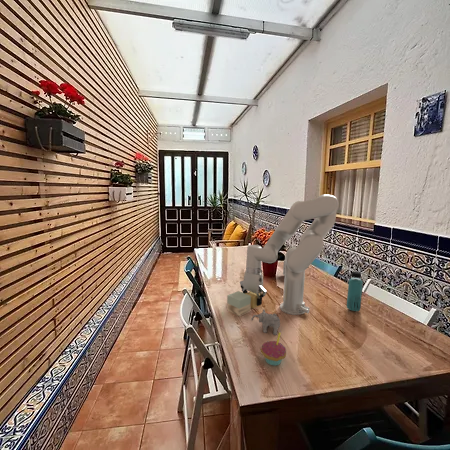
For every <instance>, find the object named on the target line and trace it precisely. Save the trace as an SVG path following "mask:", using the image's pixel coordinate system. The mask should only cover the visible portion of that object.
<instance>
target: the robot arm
mask: <svg viewBox="0 0 450 450" xmlns="http://www.w3.org/2000/svg"><path fill="white" fill-rule="evenodd" d="M339 206H340V203H339V200H338V199H337V197H336V196H334V195H332V194H326V193H325V194H320V195H319V196H318V197H316V198H312V199H308V200H298V201H295V202H293V204H292V205H291V206H290V208H289V210H288V211H287V212H286V214H285V215H284V217H283V218H282V220H281V221H280V222H279V223H278V226H277V227H276V228H275V229H274V231H273V232H272V234H271V236H270V237H269V238H268V240H267V241H266V243H265V244H264V246H263V247H262V246H261V245H258V244H250V245H248V246H247V248H246V266H245V271H244V275H243V280H241V281H239V285H240V289H241V292H242V293H248V292H253V293H255V294H256V295H257V297H258V298H257V306H258V307H260V306H261V305H262V304H263V302H262V301H263V298H264V297H265V296H266V294H267V292H268V291H267V290H266V289H265V288H264V276H263V269H262V262H263V263H268V264H272V263H275V262H276V261H277V260H278V256H279V255H278V253H279V251H280V249H282V246H283V245H284V244H285V243H286V241H288V240H289V239H291V238H292V237H294V235H296V232H297V231H298V230H299V228H300V227H301V225H302V224H303V223H304V222H305V221H308V220H313V221H312V223H311V224H310V225H309V226H308V227H307V229H306V230H305V231H304V232H303V233H302V234H301V235H300V238H299V244H298V245H297V246H293V247H290V248H289V249H288V250H287V251H286V252H285V255H284V260H285V276H284V281H283V282H284V283H283V299H282V301H283V302H282V303H280V305H279V309H280V311H281V312H283V313H284V314H287V315H291V316H299V315H304V314H305V313H306V314H309V313H310V307H309V306H306V302H305V301H304V292H305V277H306V276H305V275H306V270H307V269H308V268H309V267H310V265H312V263H313V262H314V261H315V260H316V259H317V257H318V256H319V255H320V254H321V253H322V251H323V249H324V245H325V243H324V239H325V238H326V236H328V234H329V232H330V231H331V230H332V229H333V226H335V222H336V218H337V210H338V209H339ZM259 294H260V295H259ZM259 305H260V306H259Z"/></svg>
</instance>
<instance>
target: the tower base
mask: <svg viewBox="0 0 450 450" xmlns="http://www.w3.org/2000/svg"><path fill="white" fill-rule="evenodd" d="M226 304H227V307H226V308H227V312H229V313H231V314H234V315H235V316H237V317H242V316H243V315H246V314H247V313H250V312H251V309H252V308H251V304H249V305H246V306H244V307H242V308H240V309H239V308H237V307H234V306H232V305H230V304H228V303H226Z"/></svg>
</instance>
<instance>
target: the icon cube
mask: <svg viewBox="0 0 450 450" xmlns="http://www.w3.org/2000/svg"><path fill="white" fill-rule="evenodd" d="M282 266H283V267H282V268H283V269H282V275H283V276H284V277H285V259H284V260H283V265H282Z"/></svg>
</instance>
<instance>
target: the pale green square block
mask: <svg viewBox="0 0 450 450" xmlns="http://www.w3.org/2000/svg"><path fill="white" fill-rule="evenodd" d="M226 302H227V303H228V304H230V305H232V306H234V307H237V308H239V309H240V308H242V307H244V306H246V305H249V304H250V302H251V296H250V295H247V294H245V293H243V292H242V291H239V290H238V291H236V292H233V293H230V294H227V299H226ZM227 303H226V304H227Z"/></svg>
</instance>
